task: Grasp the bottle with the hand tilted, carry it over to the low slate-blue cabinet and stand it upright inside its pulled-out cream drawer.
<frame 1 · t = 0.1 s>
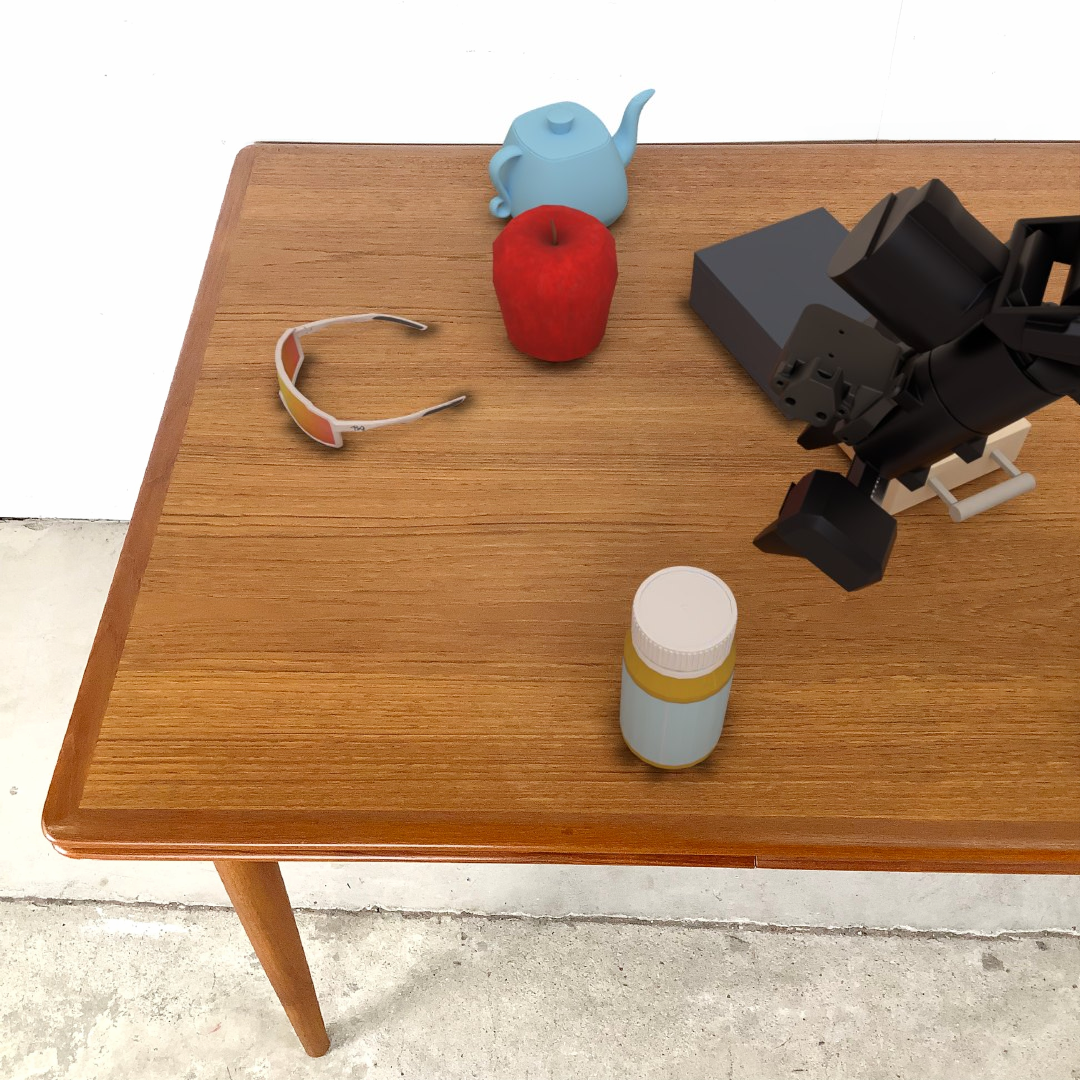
hand: (780, 493, 72), 14 cm above the table, tool tilted 35°, fingers open, 9 cm apart
sunglasses: (368, 390, 99), on the table
teapot: (572, 207, 114), on the table
cabinet: (801, 335, 101), on the table
apple: (557, 346, 102), on the table
bottle: (669, 728, 78), on the table
drawer: (915, 423, 90), point 3 cm above the table, slide at 11.5 cm
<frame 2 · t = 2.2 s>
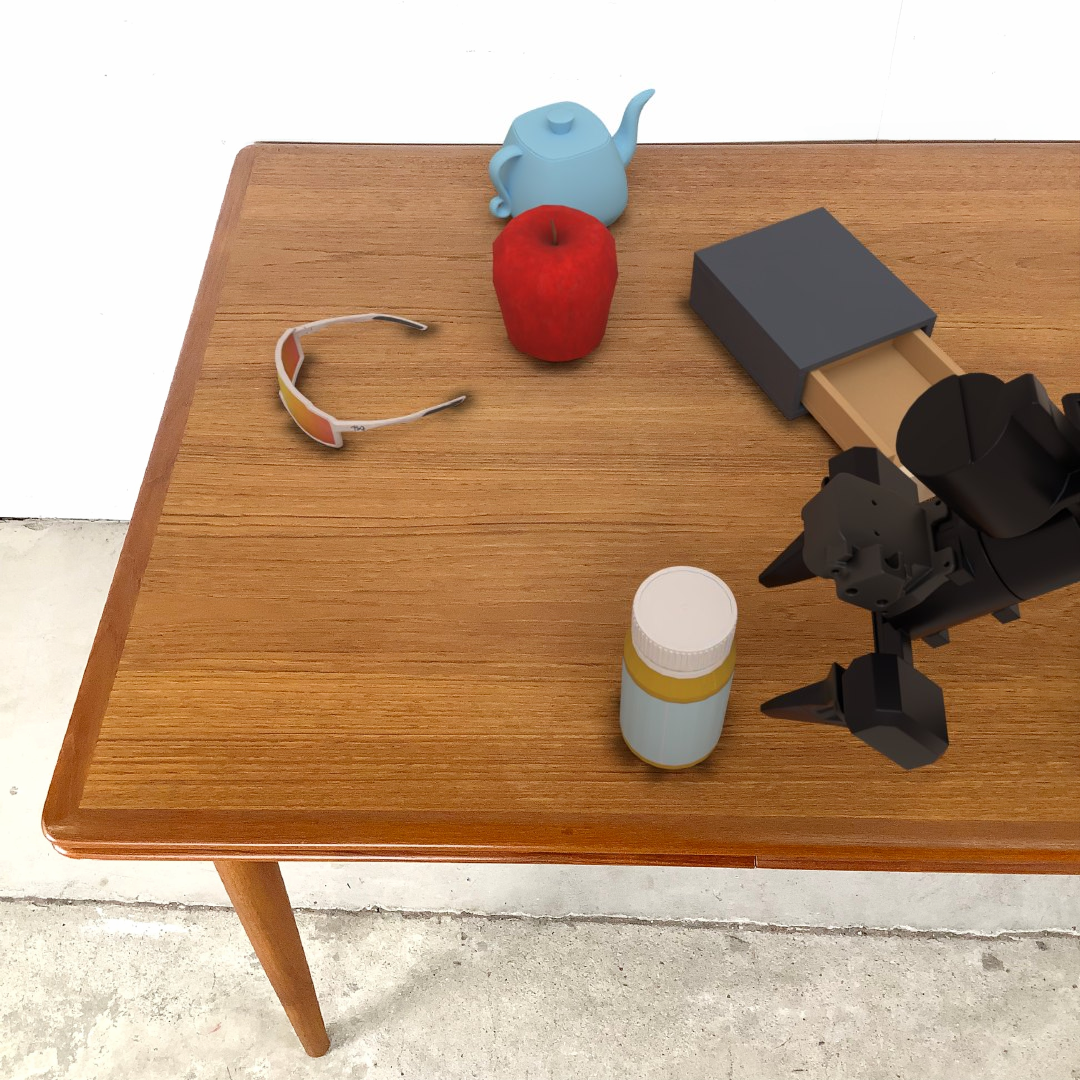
hand: (763, 644, 68), 12 cm above the table, tool tilted 45°, fingers open, 9 cm apart
nothing on the table moved.
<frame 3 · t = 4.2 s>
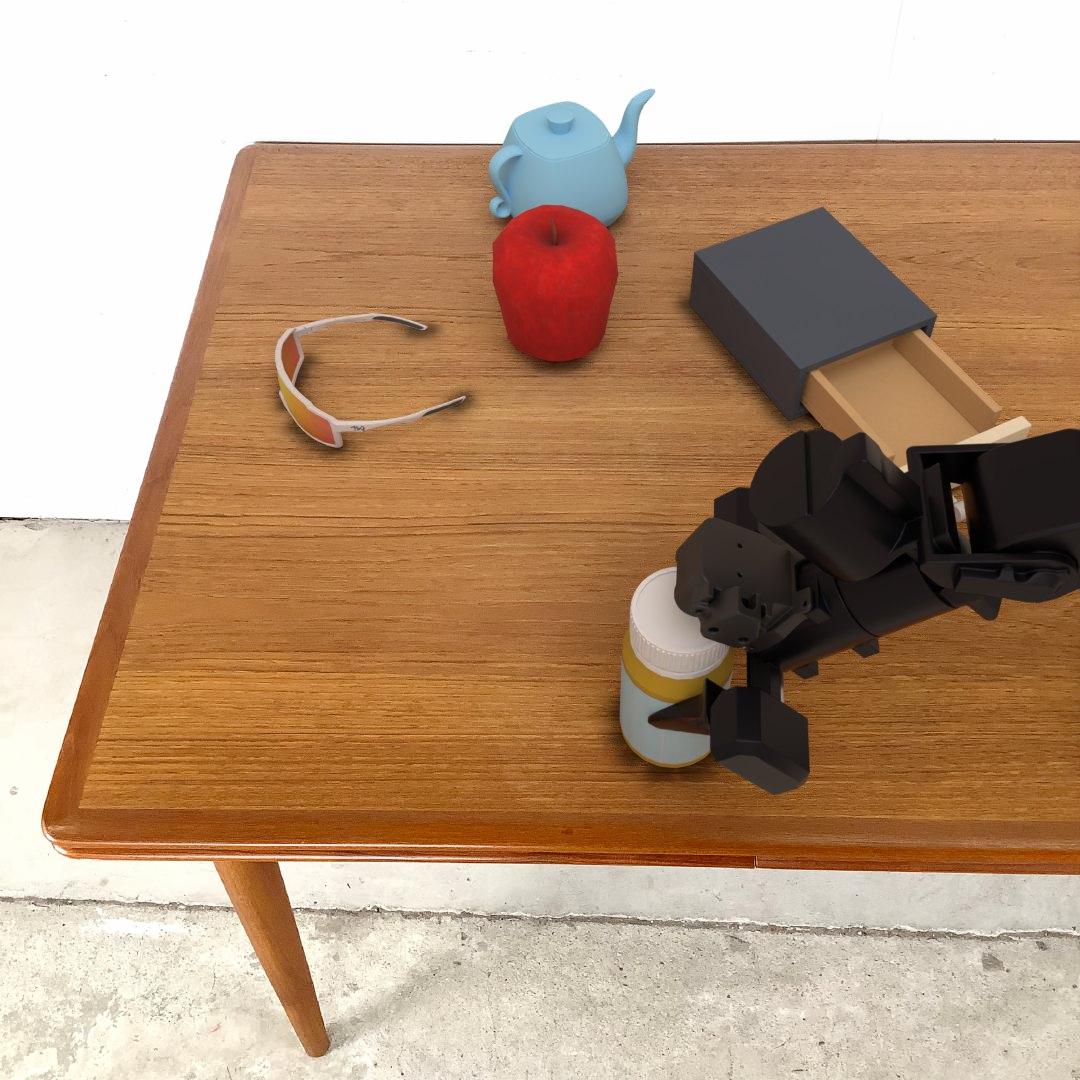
hand: (654, 673, 72), 7 cm above the table, tool tilted 45°, fingers closed on bottle, 7 cm apart
bottle: (669, 726, 78), on the table, touching gripper
everything else where it was.
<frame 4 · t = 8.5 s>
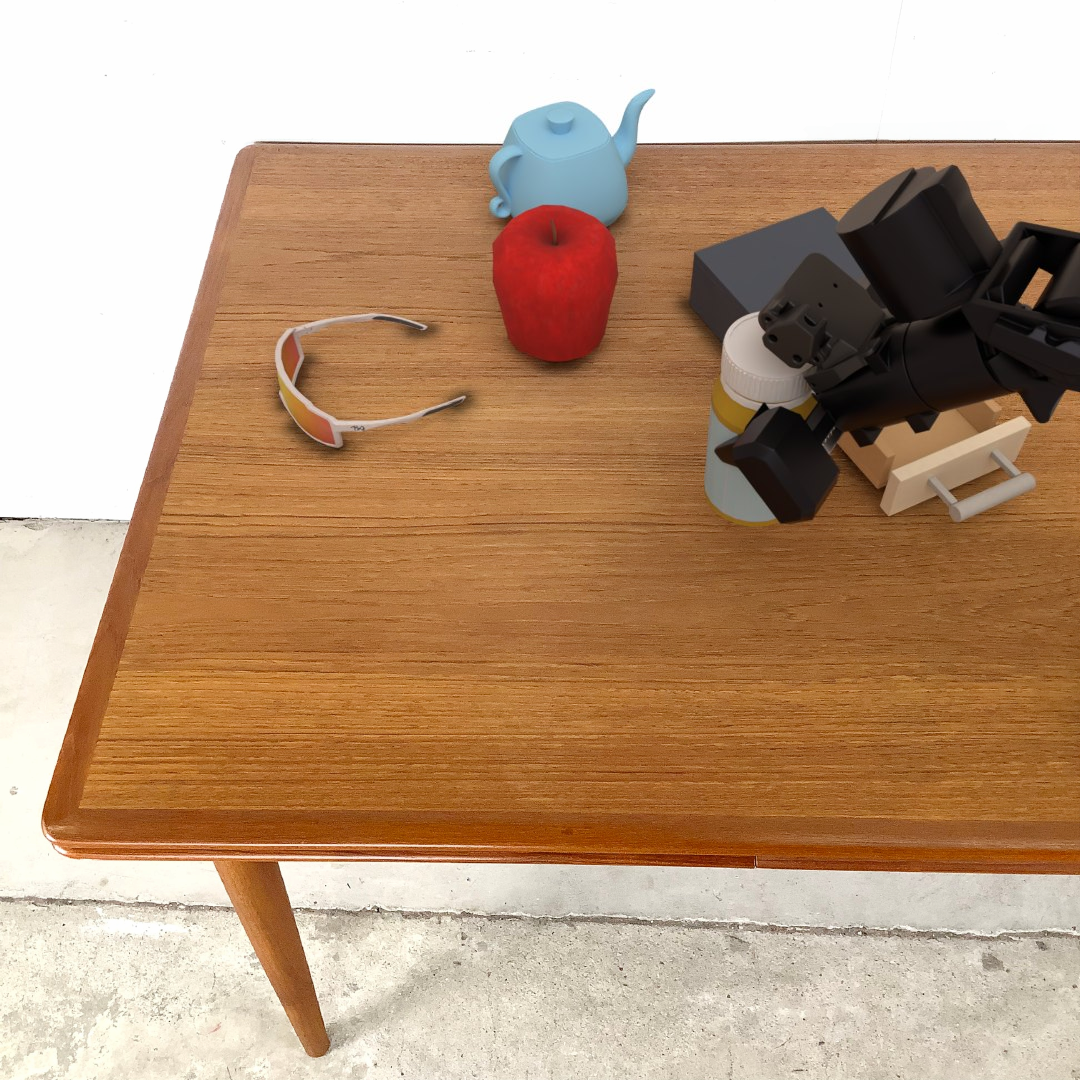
hand: (743, 421, 77), 13 cm above the table, tool tilted 45°, fingers closed on bottle, 7 cm apart
bottle: (751, 496, 82), point 6 cm above the table, touching gripper
everything else where it was.
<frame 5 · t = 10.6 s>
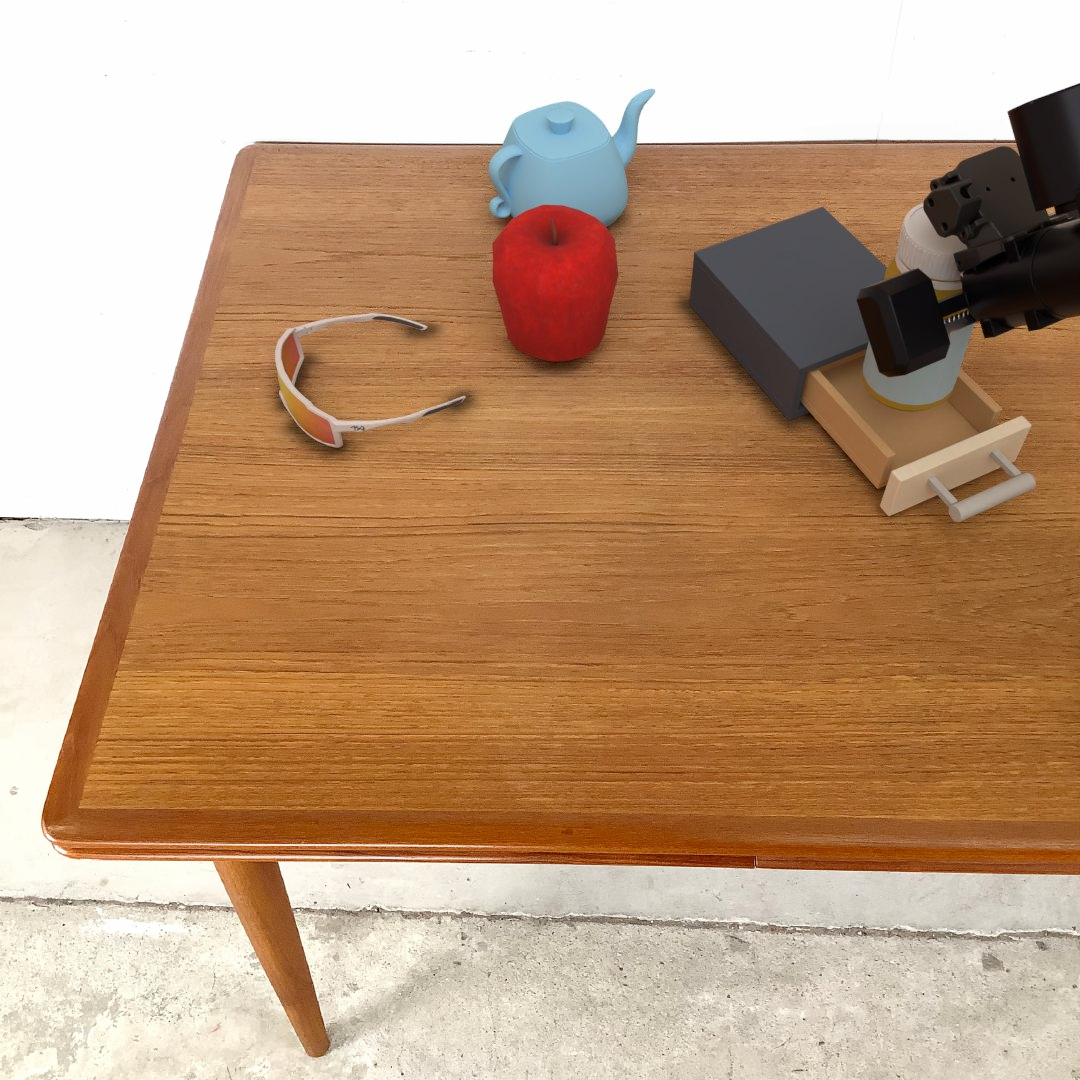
hand: (913, 305, 84), 13 cm above the table, tool tilted 45°, fingers closed on bottle, 7 cm apart
bottle: (905, 386, 89), point 6 cm above the table, touching gripper
everything else where it was.
when the fingers open (9 cm above the table, at t = 12.7 s): bottle stays where it is, resting on drawer.
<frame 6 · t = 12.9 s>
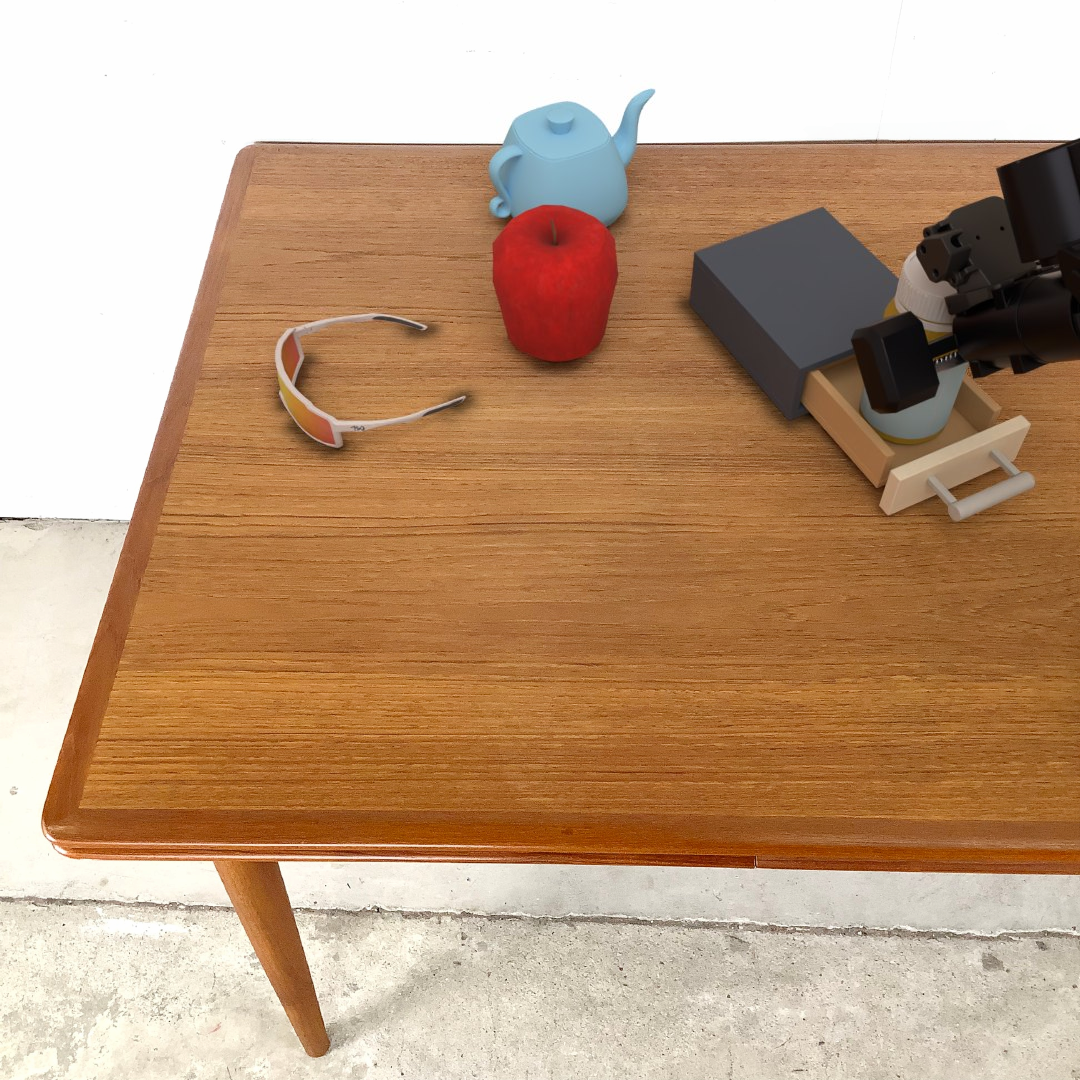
hand: (908, 341, 87), 9 cm above the table, tool tilted 45°, fingers open, 9 cm apart
bottle: (900, 419, 92), point 2 cm above the table, touching drawer, gripper
drawer: (914, 422, 90), point 3 cm above the table, slide at 11.4 cm, touching bottle
everything else where it was.
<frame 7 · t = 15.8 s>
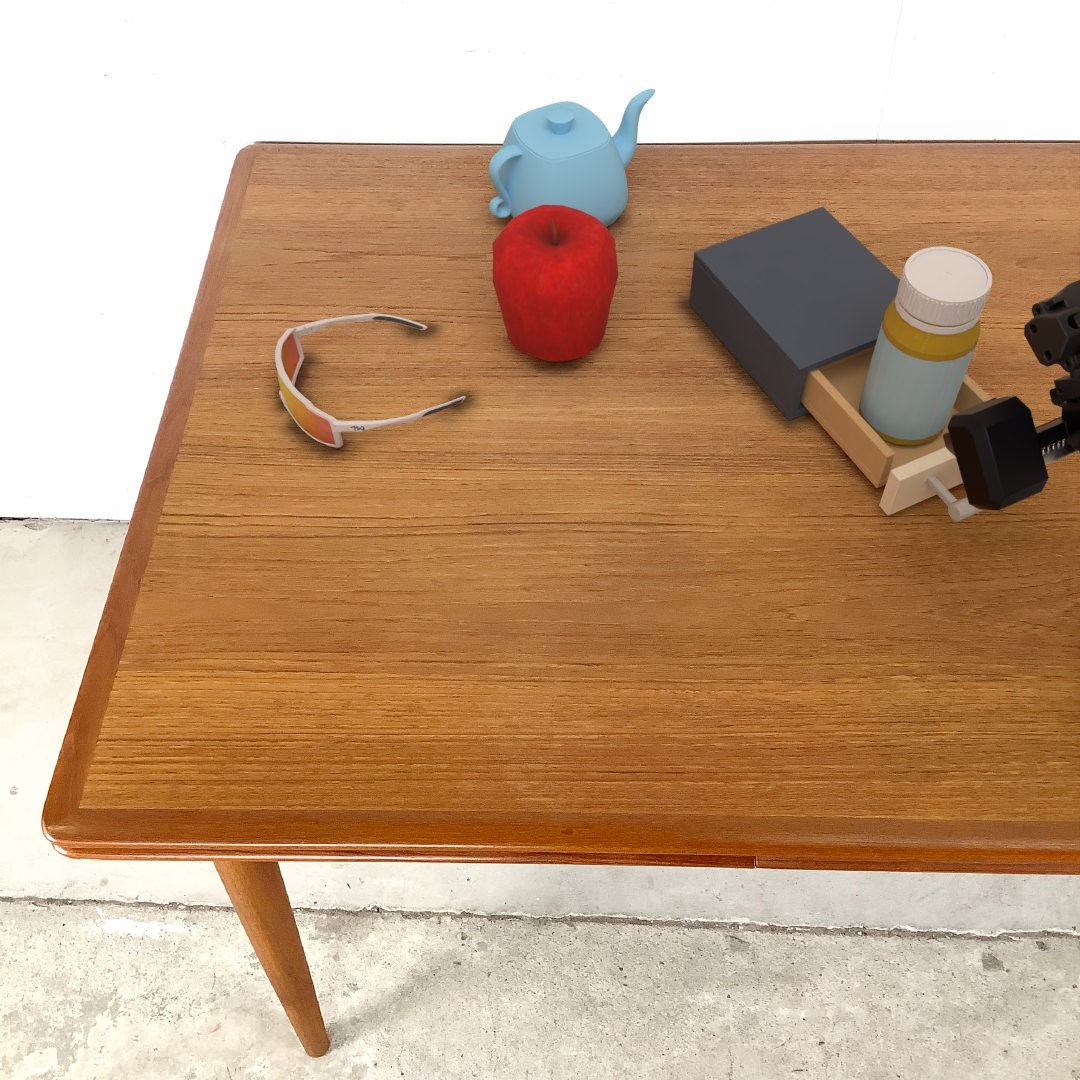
hand: (1000, 418, 78), 12 cm above the table, tool tilted 45°, fingers open, 9 cm apart
bottle: (900, 420, 92), point 2 cm above the table, touching drawer
everything else where it was.
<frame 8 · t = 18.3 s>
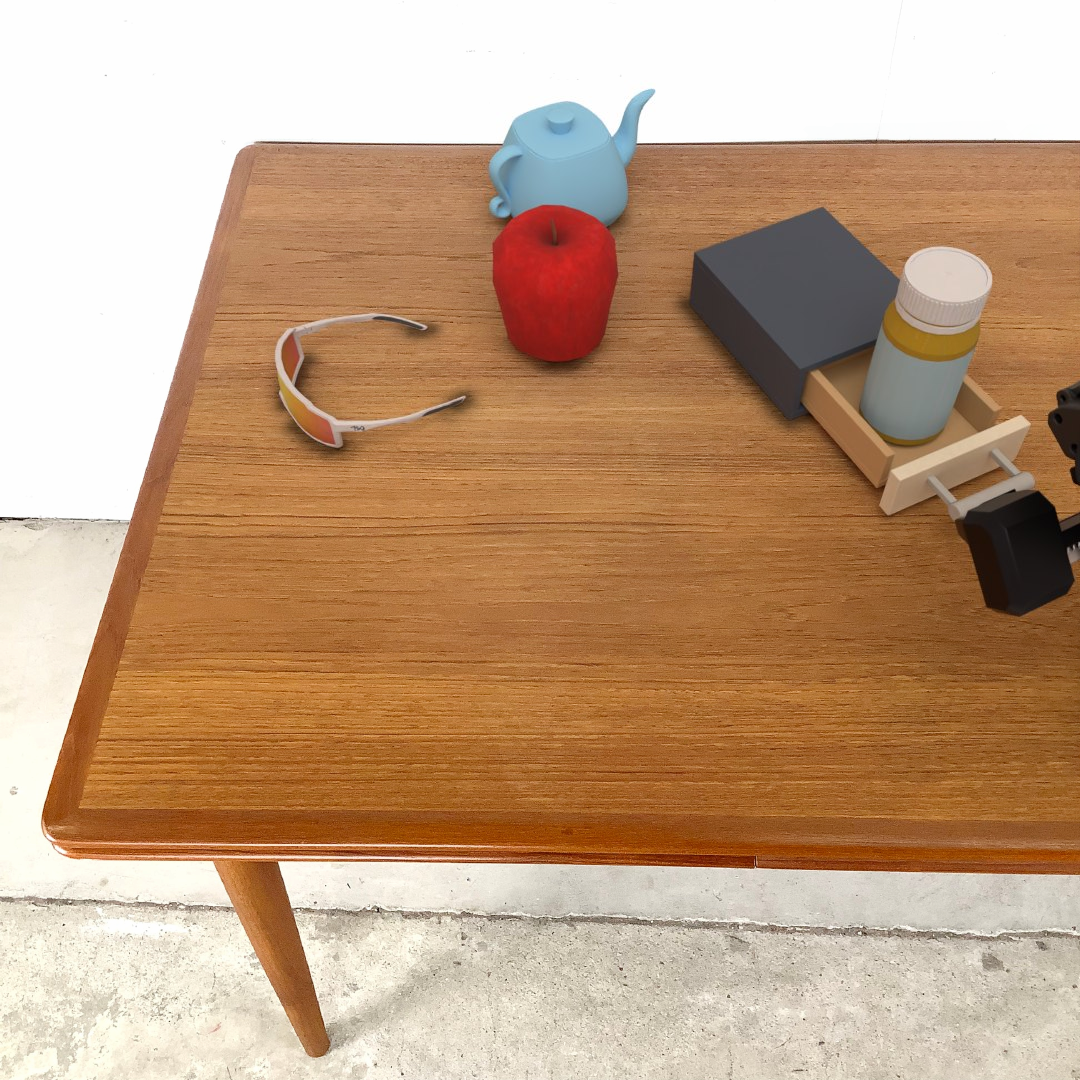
hand: (1016, 500, 72), 14 cm above the table, tool tilted 45°, fingers open, 9 cm apart
nothing on the table moved.
at the end: bottle inside the target area in the drawer (0.3 cm from its centre), point 1.8 cm above the cabinet's base; bottle tilted 0°; the gripper is holding nothing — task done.
